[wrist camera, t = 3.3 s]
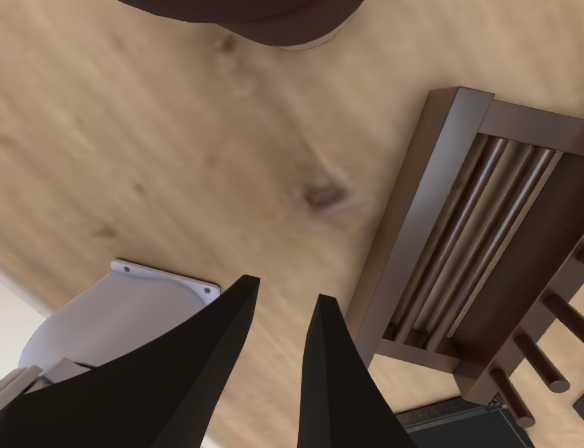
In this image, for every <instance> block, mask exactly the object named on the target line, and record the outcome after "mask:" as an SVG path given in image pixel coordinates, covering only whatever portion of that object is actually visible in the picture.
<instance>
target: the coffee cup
mask: <svg viewBox="0 0 584 448" xmlns="http://www.w3.org/2000/svg"><path fill="white" fill-rule="evenodd" d="M118 1H120V2H123V3H125V4H127V5H130V6H133V7H135V8H138V9H141V10H143V11H146V12H149V13H151V14H154V15H158V16H162V17H167V18H172V19H176V20H181V21H186V22H190V23H215V24H218V25H220V26H222V27H224V28H226V29H228V30H231V31H233V32H235V33H237V34H239V35H241V36H244V37H246V38H248V39H250V40H252V41H255V42H258V43H261V44H265V45H269V46H276V47H278V48H282V49H289V50H303V49H308V48H312V47H315V46H318V45H320V44H322V43H324V42H326V41H327V40H329V39H330V38H332V37H333V36H334V35H336V34H337V33H338V32H339V31H340V30H341V29H342V28H343V27H344V26H345V25H346V24H347V23H348V21H349V20H350V19H351V17H352V16H353V15H354V13H355V11H356V10H357V8H358V7H359V6H360V5H361V3H362V2H363V1H364V0H118Z"/></svg>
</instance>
